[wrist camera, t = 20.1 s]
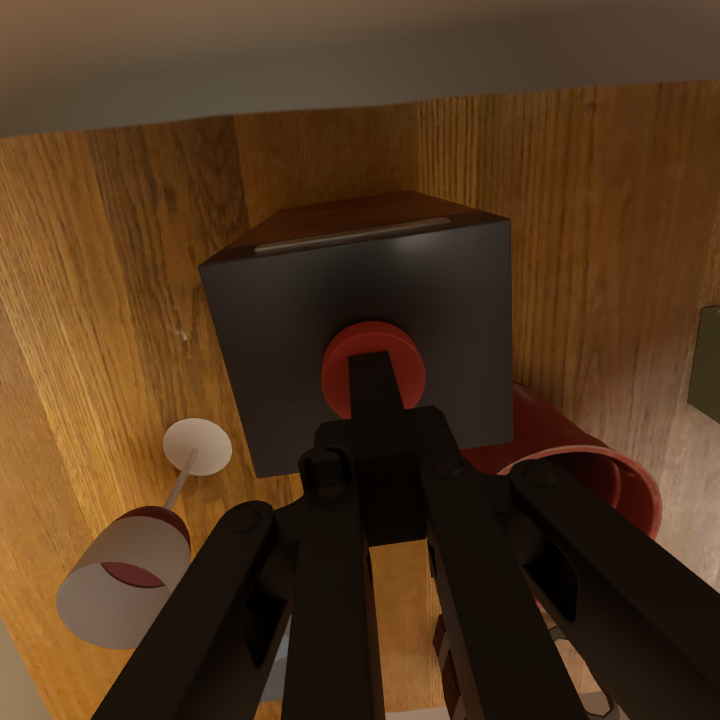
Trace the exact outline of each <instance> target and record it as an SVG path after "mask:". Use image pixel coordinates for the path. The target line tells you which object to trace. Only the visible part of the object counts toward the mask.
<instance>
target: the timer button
mask: <svg viewBox="0 0 720 720" xmlns="http://www.w3.org/2000/svg"><path fill="white" fill-rule="evenodd" d="M386 350H388V352H389V356H390V359H391V363H392V366H393V370H394V374H395V377H396V381H397V384H398V388H399V391H400V395H401V398H402V402H403V405H404V409H410V408H414V407H415V406H416V404H417V403H418V401H419V400H420V398H421V396H422V393H423V390H424V387H425V380H426V379H425V368H424V365H423V362H422V359H421V357H420V355H419V352H418V350H417V348H416V346H415V344H414V342H413V341H412V339H411V338H410V337H409V336H408V335H407V334H406V333H405V332H404V331H402V330H401V329H399V328H398V327H396V326H394V325H391V324H388V323H385V322H380V321H365V322H360V323H357V324H354V325H351V326H349V327H347V328H345V329H344V330H342V331H341V332H340V333H339V334H337V335H336V336H335V337H334V338H333V340H332V341H331V342H330V344H329V345H328V347H327V349H326V351H325V354H324V357H323V363H322V375H321V385H322V391H323V394H324V397H325V399H326V401H327V403H328V404H329V406H330V407H331V408H332V409H333V411H334V412H336V413H337V414H338V415H339V416H340V417H342V418H343V419H350V418H351V405H350V387H349V368H348V356H352V355H359V354H365V353H372V352H379V351H386Z"/></svg>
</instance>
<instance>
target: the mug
mask: <svg viewBox="0 0 720 720" xmlns="http://www.w3.org/2000/svg"><path fill="white" fill-rule="evenodd" d="M549 632H550V634H551V636H552V639H553V641H554V642H555V641H556V640H557V639H565V640H568V639H567V638H566V636H565V635H564V634H563V632H562V631H561V630H560V628H559V627H558V626H555V627H553V628H551V629H549ZM433 645H434V648H435V651H436V654H437V657H438V661H439V666H440V671H441V676H442V684H443V692H444V699H445V702H446V706H447V709H448V713H449V716H450V720H467V717H466V712H465V708H464V704H463V700H462V695H461V691H460V687H459V682H458V678H457V674H456V670H455V665H454V661H453V657H452V652H451V648H450V644H449V640H448V635H447V631H446V627H445V622H444V618H443V614H441V615H439V618H438V622H437V626H436V630H435V634H434V638H433ZM586 664H587V663H586ZM587 666H588V665H587ZM588 668H589V670H590V672H591V674H592V676H593V678H594V679H595V681H596V682H597V684H598V685H599V687H600V688H601V690H602V691H603V693H604V694H605V696H606V697H607V700H608V704H609V706H610V710H609V711H608V712H607V713H606V714H605V715H604V716H601V715H596V714H591V713H589V712H588V711H586V710H585V711H586V713H587V715H588V718H589V720H619V719H620V714H619V709H618V704H617V702H616V701H615V700H614V698H613V697H612V696H611V694H610V693H609V692H608V691H607V689H606V688H605V687H604V685H603V684H602V683H601V682H600V680H599V679H598V678H597V676H596V675H595V674H594V672H593V671H592V670H591V669H590V667H589V666H588Z"/></svg>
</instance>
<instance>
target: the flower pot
mask: <svg viewBox="0 0 720 720" xmlns="http://www.w3.org/2000/svg"><path fill="white" fill-rule="evenodd" d="M460 452H461V454H462V456H463V457H464V458H465V459H467V460H469V461H470V462H471V463H472V465H473V466H474V468H475V469H476V470H478V471H481V472H484V473H489V474H497V475H509V471H510V469H511V468H512V467H513V465H514V464H516V463H518V462H520V461H523V460H528V459H544V460H547V461H551V462H554V463H556V464H558V465H560V466H562V467H563V468H565V469H566V470H567V471H569V472H570V473H571V474H572V475H573V476H575V477H576V478H577V479H578V480H580V481H581V482H582V483H583V484H585V485H586V486H587V487H588V488H590V489H591V490H592V491H593V492H594V493H596V494H597V495H598V496H599V497H601V498H602V499H603V500H604V501H606V502H607V503H608V504H609V505H611V506H612V507H613V508H614V509H615V510H617V511H618V512H619V513H620V514H622V515H623V516H624V517H625V518H627V519H628V520H629V521H630V522H632V523H633V524H634V525H635V526H636V527H638V528H639V529H640V530H641V531H643V532H644V533H645V534H646V535H648V536H649V537H650V538H651V539H653V540H655V538H656V536H657V533H658V530H659V528H660V524H661V518H662V500H661V495H660V491H659V488H658V486H657V484H656V482H655V480H654V478H653V477H652V476H651V474H650V473H649V472H648V471H647V470H646V469H645V468H644V467H643V466H642V465H641V464H640V463H639V462H637V461H636V460H634V459H633V458H631V457H629V456H628V455H626V454H623V453H621V452H619V451H617V450H614V449H611V448H609V447H608V446H607V445H605V444H604V443H603V442H601V441H600V440H598V439H597V438H595V437H593V436H590V435H588V434H586V433H585V432H583V431H582V430H581V429H580V428H578V427H577V426H576V425H575V424H573V423H572V422H571V421H570V420H569V419H567V418H566V417H565V416H564V415H562V414H561V413H560V412H559V411H558V410H556V409H555V408H554V407H553V406H551V405H550V404H549V403H548V402H546V401H545V400H544V399H543V398H542V397H540V396H539V395H538V394H537V393H536V392H534V391H533V390H531V389H530V388H528V387H526V386H523V385H521V384H517V383H513V442H510V443H503V444H496V445H489V446H482V447H475V448H468V449H461V450H460ZM531 593H532V592H531ZM532 595H533V594H532ZM533 597H534V599H535V601H536V604H537V606H538V607H543V606H542V605H541V604H540V603H539V601H538V600H537V599H536V597H535V596H534V595H533Z"/></svg>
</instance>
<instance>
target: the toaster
mask: <svg viewBox="0 0 720 720" xmlns="http://www.w3.org/2000/svg"><path fill="white" fill-rule="evenodd" d="M688 403H689V404H691V405H692V406H694V407H695V408H697V409H698V410H700V411H701V412H703V413H704V414H706V415H707V416H709V417H710V418H712V419H713V420H715V421H716V422H718V423H719V424H720V306H716V307H710V308H703V309H702V313H701V320H700V326H699V332H698V338H697V345H696V351H695V357H694V364H693V370H692V376H691V383H690V389H689V395H688Z"/></svg>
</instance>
